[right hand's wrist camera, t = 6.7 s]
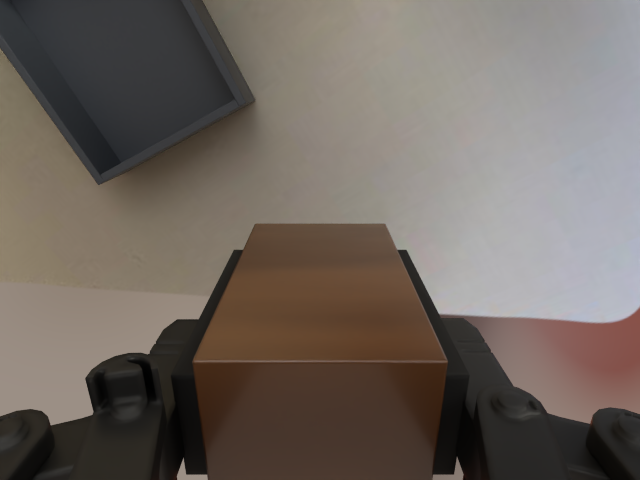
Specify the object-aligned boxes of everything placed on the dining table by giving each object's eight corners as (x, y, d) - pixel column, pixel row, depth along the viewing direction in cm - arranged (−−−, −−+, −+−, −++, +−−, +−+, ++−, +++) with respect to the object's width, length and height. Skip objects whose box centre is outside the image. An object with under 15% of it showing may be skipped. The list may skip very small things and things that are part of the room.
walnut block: (254, 223, 14) (191, 361, 7) (385, 223, 14) (449, 361, 7) (261, 334, 16) (214, 536, 9) (379, 334, 16) (425, 536, 9)
